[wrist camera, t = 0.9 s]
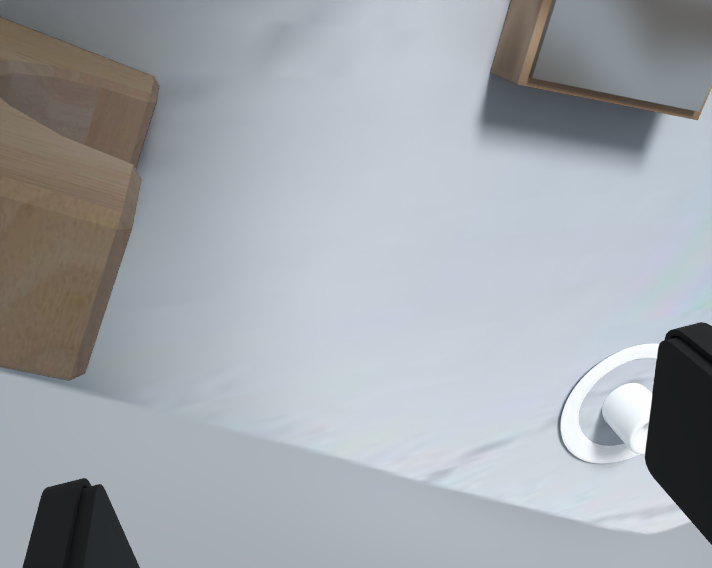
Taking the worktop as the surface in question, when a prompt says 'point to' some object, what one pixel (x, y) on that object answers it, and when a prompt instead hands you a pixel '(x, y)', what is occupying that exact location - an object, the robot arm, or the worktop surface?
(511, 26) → the plinth
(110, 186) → the decorative block
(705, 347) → the robot arm
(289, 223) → the worktop surface
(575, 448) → the candle holder
